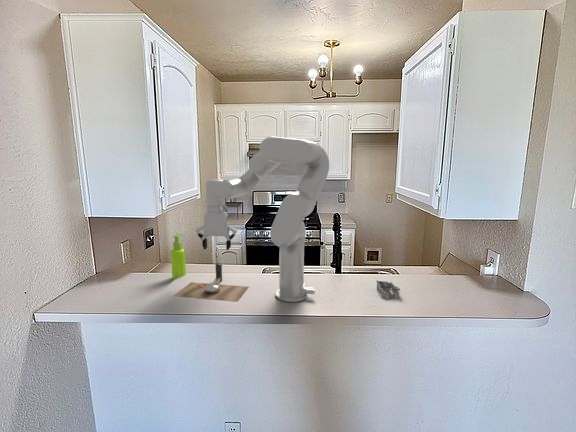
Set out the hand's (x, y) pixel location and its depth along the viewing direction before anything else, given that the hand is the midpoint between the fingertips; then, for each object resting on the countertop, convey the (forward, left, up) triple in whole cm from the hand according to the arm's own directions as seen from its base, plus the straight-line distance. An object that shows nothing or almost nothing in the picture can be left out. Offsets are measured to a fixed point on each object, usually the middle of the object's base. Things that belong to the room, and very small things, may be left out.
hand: (216, 248), depth 129 cm
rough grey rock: (-71, -4, -16) cm, 73 cm away
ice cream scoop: (-2, +6, -14) cm, 15 cm away
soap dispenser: (+21, -4, -16) cm, 26 cm away
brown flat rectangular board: (-2, +11, -16) cm, 19 cm away
